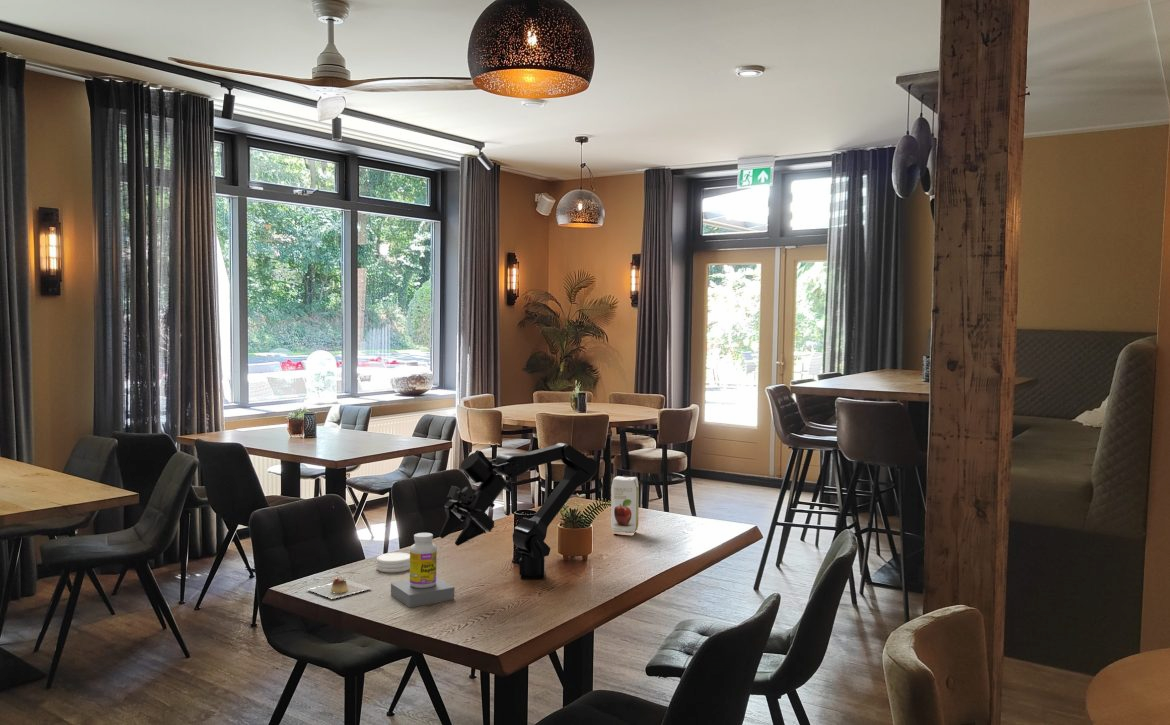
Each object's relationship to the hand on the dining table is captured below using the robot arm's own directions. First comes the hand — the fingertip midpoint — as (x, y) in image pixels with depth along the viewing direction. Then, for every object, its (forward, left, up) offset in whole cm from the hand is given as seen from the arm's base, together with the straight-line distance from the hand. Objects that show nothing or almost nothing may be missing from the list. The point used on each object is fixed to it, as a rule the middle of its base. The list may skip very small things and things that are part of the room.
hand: (448, 540), depth 218 cm
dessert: (+28, -1, -14) cm, 32 cm away
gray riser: (+6, +4, -13) cm, 15 cm away
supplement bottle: (+6, +4, -11) cm, 13 cm away
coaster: (+19, -23, -14) cm, 33 cm away
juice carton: (-49, -66, -14) cm, 83 cm away
